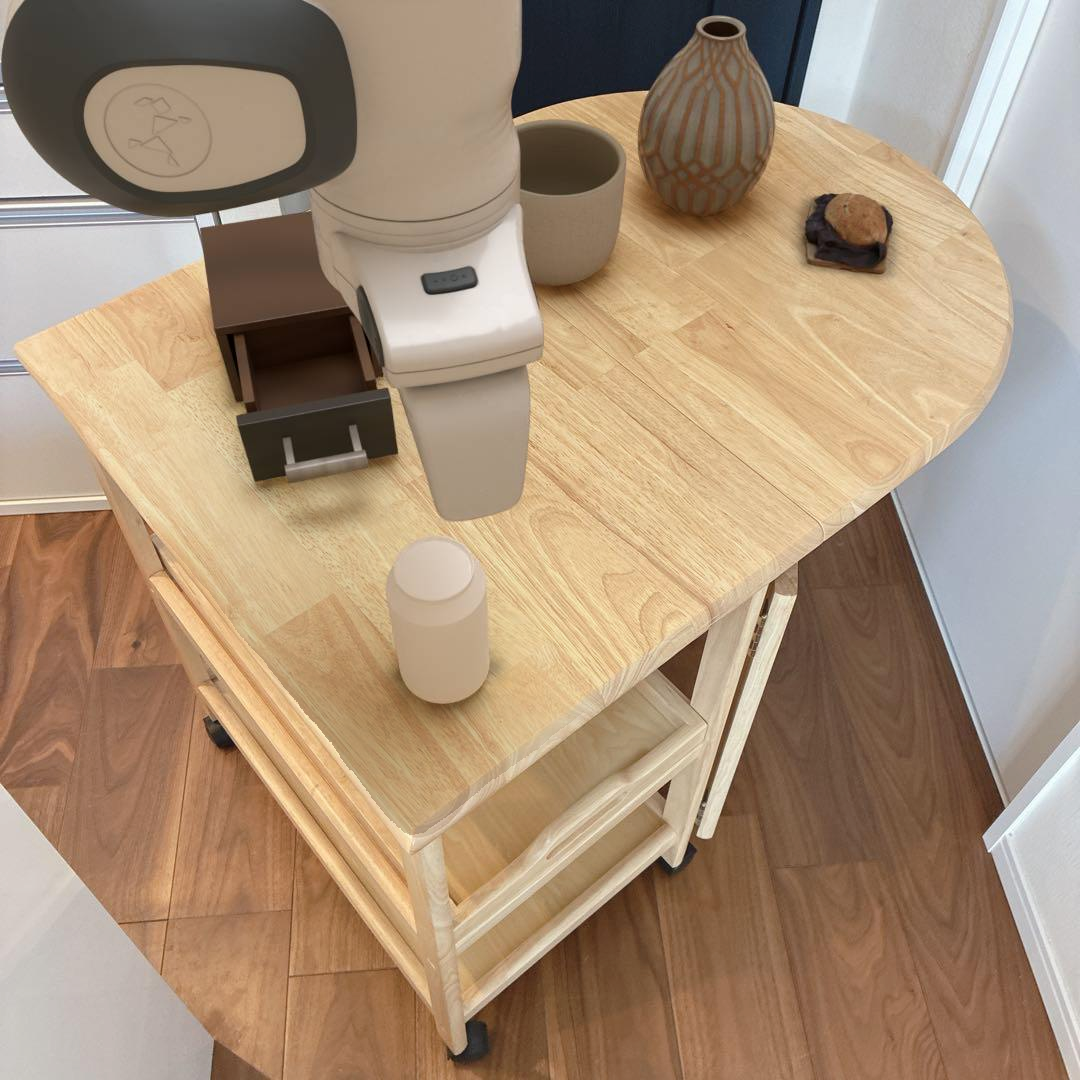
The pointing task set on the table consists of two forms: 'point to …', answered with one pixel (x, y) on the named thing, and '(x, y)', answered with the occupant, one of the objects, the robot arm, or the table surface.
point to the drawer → (311, 400)
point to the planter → (569, 198)
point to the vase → (707, 122)
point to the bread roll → (848, 232)
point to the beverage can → (439, 619)
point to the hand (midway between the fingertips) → (434, 442)
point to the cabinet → (266, 281)
